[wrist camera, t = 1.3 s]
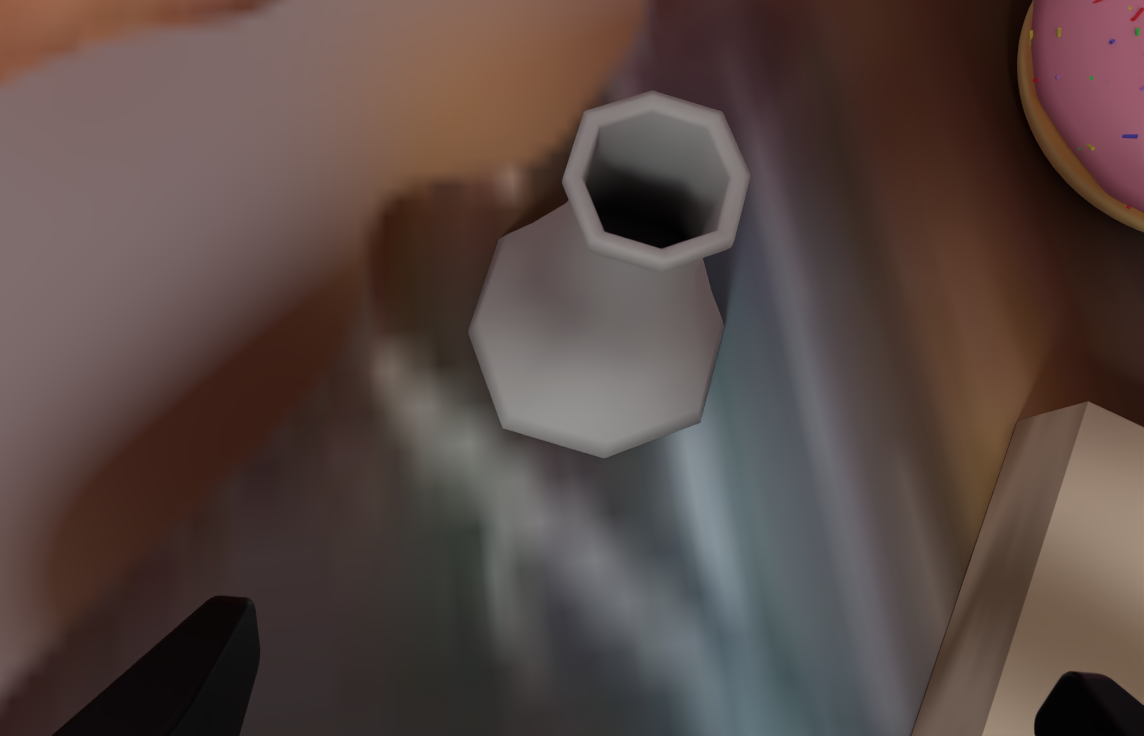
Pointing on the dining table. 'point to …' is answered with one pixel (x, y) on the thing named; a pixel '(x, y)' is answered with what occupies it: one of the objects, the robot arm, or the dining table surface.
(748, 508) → the dining table surface
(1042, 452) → the foundation block
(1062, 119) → the doughnut
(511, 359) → the flask
